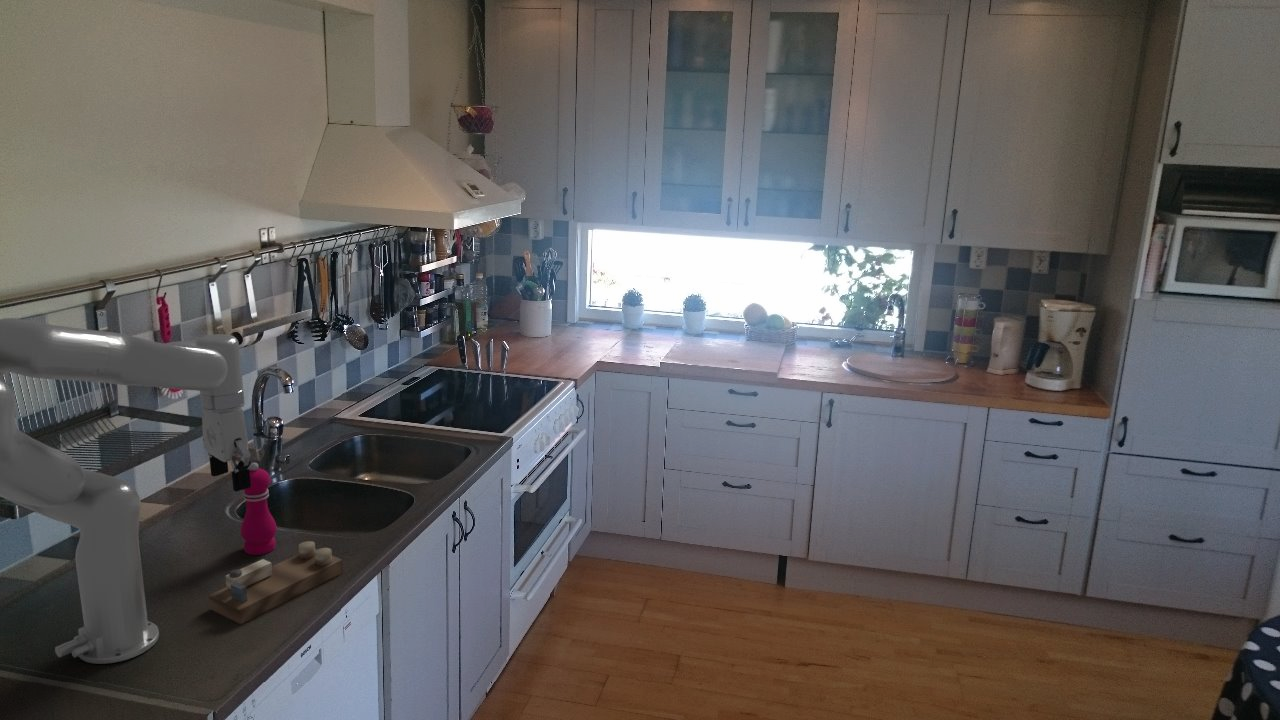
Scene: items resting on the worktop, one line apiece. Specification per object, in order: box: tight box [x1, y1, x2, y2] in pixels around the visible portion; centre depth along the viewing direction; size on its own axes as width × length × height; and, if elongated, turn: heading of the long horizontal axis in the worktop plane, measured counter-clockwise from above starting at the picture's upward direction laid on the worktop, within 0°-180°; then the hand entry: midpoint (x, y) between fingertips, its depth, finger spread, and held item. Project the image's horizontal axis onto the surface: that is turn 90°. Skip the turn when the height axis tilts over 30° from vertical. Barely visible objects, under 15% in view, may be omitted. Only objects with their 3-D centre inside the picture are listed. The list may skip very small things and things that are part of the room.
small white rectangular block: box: [225, 558, 273, 590], centre depth 174 cm, size 8×3×3 cm, turn 149°
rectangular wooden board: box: [208, 540, 344, 625], centre depth 177 cm, size 24×9×6 cm, turn 149°
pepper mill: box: [240, 462, 278, 556], centre depth 192 cm, size 7×7×20 cm
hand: (230, 481), depth 176 cm, fingers open, 9 cm apart
